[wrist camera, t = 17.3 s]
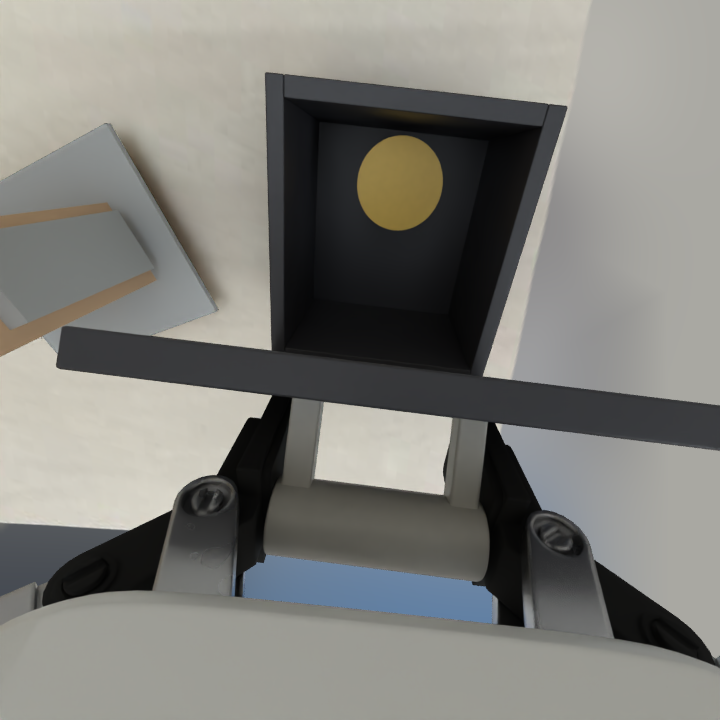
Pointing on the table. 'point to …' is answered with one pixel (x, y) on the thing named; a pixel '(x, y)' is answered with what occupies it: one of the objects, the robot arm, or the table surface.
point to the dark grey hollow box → (392, 247)
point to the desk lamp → (90, 249)
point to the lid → (392, 392)
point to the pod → (399, 182)
